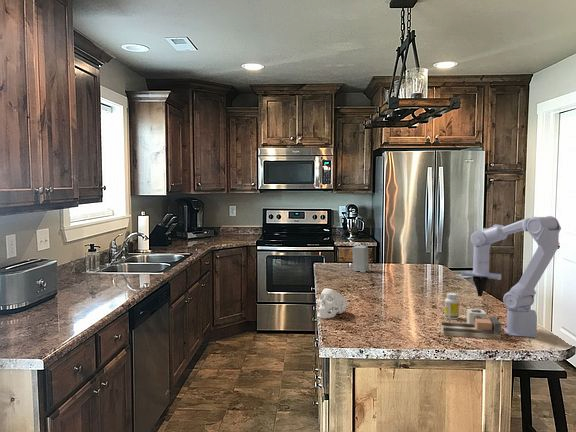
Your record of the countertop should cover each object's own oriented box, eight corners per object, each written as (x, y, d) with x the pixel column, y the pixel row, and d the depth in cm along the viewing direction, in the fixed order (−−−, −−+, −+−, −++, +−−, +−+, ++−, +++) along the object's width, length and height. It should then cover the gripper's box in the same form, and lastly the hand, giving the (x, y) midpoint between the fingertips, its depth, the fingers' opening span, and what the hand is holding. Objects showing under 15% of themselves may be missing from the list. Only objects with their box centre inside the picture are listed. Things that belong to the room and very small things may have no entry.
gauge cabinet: (483, 323, 183) (483, 309, 183) (486, 328, 177) (486, 314, 177) (466, 322, 184) (467, 308, 184) (469, 327, 178) (469, 313, 178)
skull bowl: (306, 313, 192) (317, 285, 196) (324, 325, 201) (334, 298, 205) (326, 317, 185) (337, 289, 189) (344, 330, 194) (354, 302, 198)
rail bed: (495, 331, 173) (495, 316, 173) (500, 339, 165) (501, 323, 164) (441, 327, 177) (441, 313, 177) (443, 335, 169) (444, 320, 168)
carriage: (489, 327, 172) (489, 319, 172) (492, 332, 167) (492, 323, 167) (474, 327, 173) (474, 318, 173) (477, 331, 168) (477, 322, 168)
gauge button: (479, 322, 182) (479, 310, 182) (480, 324, 179) (481, 311, 179) (471, 322, 182) (472, 309, 182) (472, 324, 180) (473, 311, 179)
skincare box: (368, 271, 295) (369, 246, 294) (364, 273, 289) (364, 247, 288) (356, 269, 299) (356, 245, 298) (351, 271, 293) (352, 246, 292)
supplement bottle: (460, 317, 192) (461, 293, 191) (455, 320, 187) (455, 296, 187) (447, 315, 195) (448, 291, 194) (442, 317, 191) (442, 294, 190)
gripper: (459, 261, 184) (458, 295, 185) (500, 264, 177) (499, 300, 177) (463, 259, 190) (462, 292, 191) (502, 262, 183) (501, 296, 184)
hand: (480, 295), depth 185 cm, fingers closed
